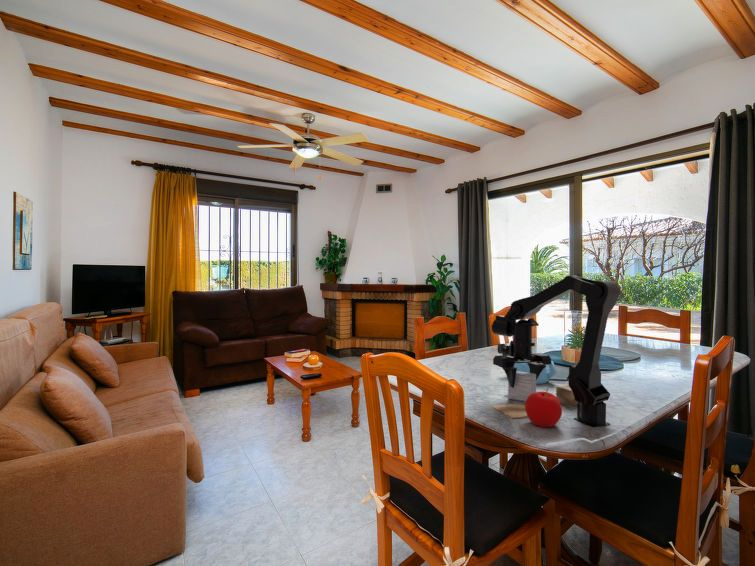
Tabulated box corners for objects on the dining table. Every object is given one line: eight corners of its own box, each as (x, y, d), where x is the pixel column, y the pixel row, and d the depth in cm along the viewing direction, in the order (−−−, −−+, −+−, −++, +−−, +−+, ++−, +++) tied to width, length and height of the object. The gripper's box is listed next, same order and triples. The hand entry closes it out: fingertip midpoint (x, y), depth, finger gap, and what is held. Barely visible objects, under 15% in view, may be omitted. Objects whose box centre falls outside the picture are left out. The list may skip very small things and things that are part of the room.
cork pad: (542, 415, 106) (542, 414, 106) (513, 418, 103) (513, 417, 103) (519, 403, 116) (519, 402, 116) (492, 407, 113) (492, 406, 113)
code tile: (541, 406, 116) (541, 404, 116) (526, 407, 114) (526, 405, 114) (518, 395, 126) (518, 393, 126) (503, 397, 124) (503, 395, 124)
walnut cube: (580, 404, 116) (580, 388, 116) (570, 406, 114) (570, 390, 113) (566, 399, 120) (566, 384, 120) (556, 401, 118) (556, 386, 118)
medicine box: (536, 400, 120) (536, 373, 119) (533, 403, 116) (533, 376, 116) (511, 395, 124) (511, 369, 124) (507, 398, 120) (508, 372, 120)
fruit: (550, 434, 93) (550, 395, 93) (518, 422, 101) (518, 386, 100) (568, 426, 99) (569, 388, 99) (537, 415, 106) (537, 381, 106)
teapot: (520, 387, 134) (520, 358, 134) (500, 377, 149) (501, 350, 149) (559, 386, 136) (559, 357, 136) (535, 375, 151) (536, 349, 151)
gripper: (528, 334, 130) (528, 378, 130) (483, 336, 125) (483, 382, 125) (552, 339, 120) (552, 386, 120) (504, 341, 114) (503, 391, 114)
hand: (522, 386), depth 120 cm, fingers open, 7 cm apart
